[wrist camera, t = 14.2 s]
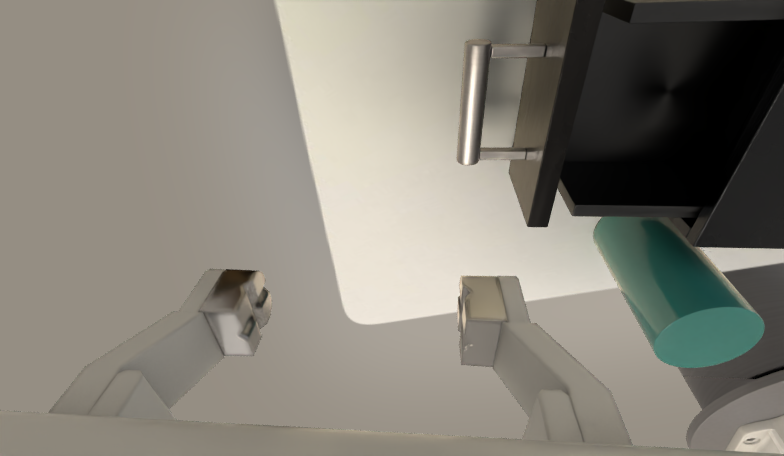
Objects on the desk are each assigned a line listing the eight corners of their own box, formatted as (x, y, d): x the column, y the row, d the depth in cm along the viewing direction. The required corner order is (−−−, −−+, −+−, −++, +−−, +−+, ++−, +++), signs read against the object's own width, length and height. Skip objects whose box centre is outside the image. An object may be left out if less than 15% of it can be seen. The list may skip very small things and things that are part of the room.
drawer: (451, 172, 29) (456, 226, 24) (464, -24, 22) (476, -12, 16) (715, 173, 28) (786, 231, 22) (825, -37, 20) (972, -28, 15)
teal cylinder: (654, 257, 34) (734, 370, 25) (585, 255, 34) (640, 366, 25) (682, 200, 30) (786, 308, 21) (604, 200, 31) (675, 305, 22)
